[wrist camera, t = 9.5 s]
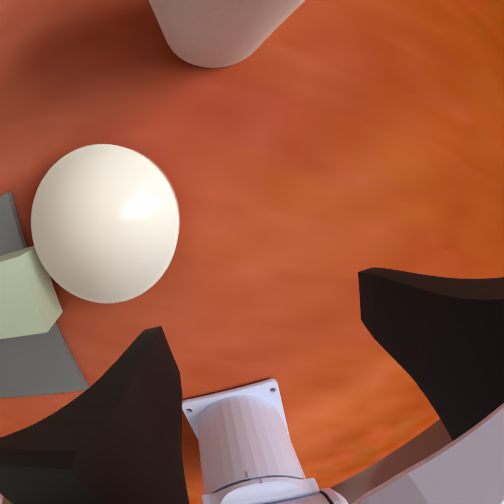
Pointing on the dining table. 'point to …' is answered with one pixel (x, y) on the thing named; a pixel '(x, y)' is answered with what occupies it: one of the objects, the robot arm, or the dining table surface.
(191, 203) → the dining table surface
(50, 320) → the pale green square block
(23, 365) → the mat
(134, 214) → the white shallow dome
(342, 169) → the dining table surface
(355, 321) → the dining table surface
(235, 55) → the coffee cup
